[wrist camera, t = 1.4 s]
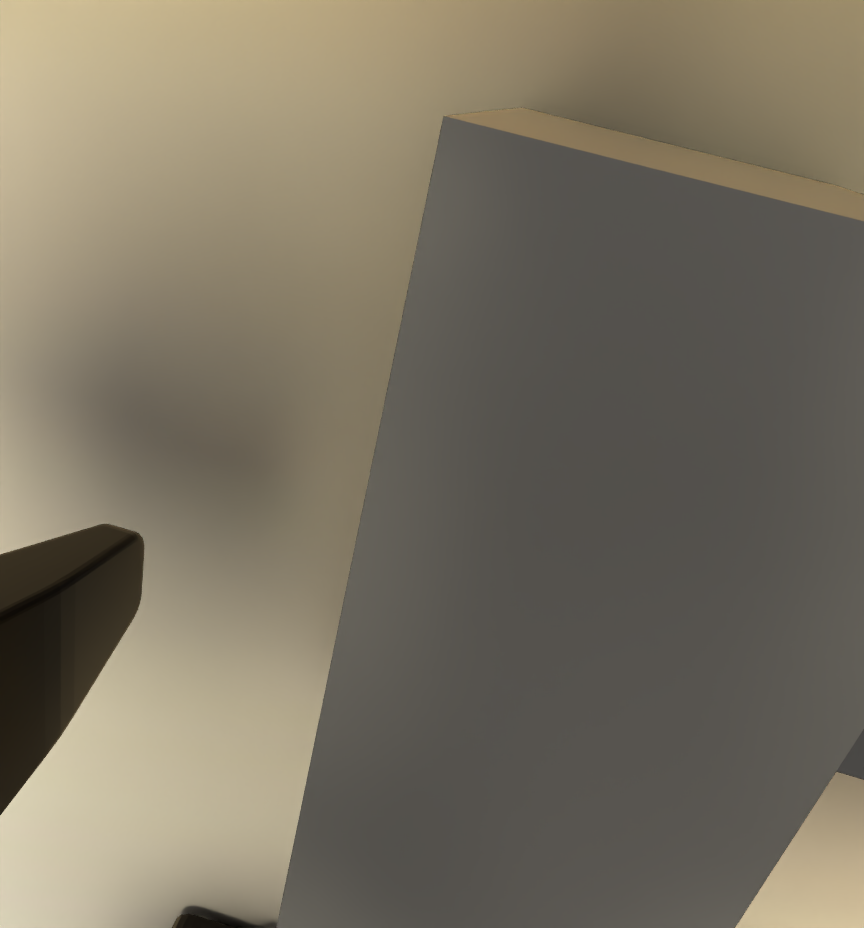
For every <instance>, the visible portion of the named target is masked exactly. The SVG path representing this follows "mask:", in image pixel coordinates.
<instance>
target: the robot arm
mask: <svg viewBox="0 0 864 928" xmlns="http://www.w3.org/2000/svg"><path fill="white" fill-rule="evenodd" d="M143 561H144V541H143V538H142V537H141V536H140V534H139V533H137V532H134V531H131V530H127V529H124V528H120V527H117V526H114V525H110V524H101V525H97V526H94V527H91V528H87V529H84V530H81V531H77V532H74V533H71V534H67V535H64V536H61V537H57V538H54V539H51V540H47V541H44V542H41V543H37V544H34V545H31V546H27V547H24V548H21V549H17V550H14V551H11V552H7V553H4V554H0V815H1V814H2V812H3V811H4V810H5V809H6V807H7V806H8V805H9V803H10V802H11V801H12V800H13V798H14V797H15V796H16V794H17V793H18V792H19V790H20V789H21V788H22V787H23V785H24V784H25V783H26V781H27V780H28V779H29V778H30V776H31V775H32V774H33V772H34V771H35V770H36V768H37V767H38V766H39V765H40V763H41V762H42V761H43V759H44V758H45V757H46V755H47V754H48V753H49V751H50V750H51V749H52V747H53V746H54V745H55V743H56V742H57V740H58V739H59V738H60V736H61V735H62V733H63V732H64V730H65V729H66V727H67V726H68V724H69V723H70V721H71V719H72V718H73V716H74V715H75V713H76V711H77V710H78V708H79V707H80V705H81V703H82V702H83V700H84V698H85V697H86V695H87V694H88V692H89V690H90V689H91V687H92V685H93V684H94V682H95V680H96V679H97V677H98V676H99V674H100V672H101V671H102V669H103V667H104V666H105V664H106V663H107V661H108V659H109V658H110V656H111V654H112V653H113V651H114V649H115V648H116V646H117V645H118V643H119V641H120V640H121V638H122V636H123V635H124V633H125V632H126V630H127V628H128V627H129V625H130V623H131V622H132V620H133V618H134V617H135V615H136V612H137V610H138V607H139V604H140V600H141V594H142V578H143ZM172 928H233V927H230V926H227V925H224V924H221V923H218V922H215V921H212V920H209V919H206V918H203V917H200V916H197V915H192V914H184V915H181V916H179V917H177V919H176V921H175V923H174V925H173V927H172Z"/></svg>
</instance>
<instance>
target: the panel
mask: <svg viewBox="0 0 864 928" xmlns="http://www.w3.org/2000/svg"><path fill="white" fill-rule="evenodd" d="M863 729H864V195H863V194H860V193H857V192H854V191H851V190H848V189H846V188H843V187H840V186H836V185H832V184H828V183H824V182H820V181H816V180H812V179H808V178H804V177H800V176H796V175H792V174H788V173H784V172H780V171H776V170H772V169H768V168H764V167H760V166H756V165H752V164H748V163H744V162H740V161H736V160H732V159H728V158H724V157H720V156H716V155H711V154H707V153H703V152H699V151H695V150H691V149H687V148H683V147H679V146H675V145H671V144H667V143H663V142H659V141H655V140H651V139H647V138H643V137H639V136H635V135H631V134H627V133H623V132H619V131H615V130H611V129H607V128H603V127H599V126H595V125H591V124H587V123H583V122H578V121H574V120H570V119H566V118H562V117H558V116H554V115H550V114H546V113H542V112H538V111H534V110H530V109H526V108H522V107H520V108H511V109H502V110H493V111H484V112H475V113H466V114H457V115H448V116H444V117H443V122H442V126H441V131H440V136H439V141H438V146H437V151H436V156H435V160H434V165H433V170H432V175H431V180H430V185H429V190H428V194H427V199H426V204H425V209H424V214H423V219H422V224H421V228H420V233H419V238H418V243H417V248H416V253H415V258H414V262H413V267H412V272H411V277H410V282H409V287H408V291H407V296H406V301H405V306H404V311H403V316H402V321H401V325H400V330H399V335H398V340H397V345H396V350H395V355H394V359H393V364H392V369H391V374H390V379H389V384H388V389H387V393H386V398H385V403H384V408H383V413H382V418H381V423H380V427H379V432H378V437H377V442H376V447H375V452H374V457H373V461H372V466H371V471H370V476H369V481H368V486H367V491H366V495H365V500H364V505H363V510H362V515H361V520H360V524H359V529H358V534H357V539H356V544H355V549H354V554H353V558H352V563H351V568H350V573H349V578H348V583H347V588H346V592H345V597H344V602H343V607H342V612H341V617H340V622H339V626H338V631H337V636H336V641H335V646H334V651H333V656H332V660H331V665H330V670H329V675H328V680H327V685H326V690H325V694H324V699H323V704H322V709H321V714H320V719H319V723H318V728H317V733H316V738H315V743H314V748H313V753H312V757H311V762H310V767H309V772H308V777H307V782H306V787H305V791H304V796H303V801H302V806H301V811H300V816H299V821H298V825H297V830H296V835H295V840H294V845H293V850H292V855H291V859H290V864H289V869H288V874H287V879H286V884H285V889H284V893H283V898H282V903H281V908H280V913H279V918H278V922H277V927H276V928H735V927H736V925H737V924H738V922H739V921H740V919H741V918H742V916H743V915H744V913H745V911H746V910H747V908H748V907H749V905H750V904H751V902H752V901H753V899H754V898H755V896H756V894H757V893H758V891H759V890H760V888H761V887H762V885H763V884H764V882H765V881H766V879H767V877H768V876H769V874H770V873H771V871H772V870H773V868H774V867H775V865H776V864H777V862H778V861H779V859H780V857H781V856H782V854H783V853H784V851H785V850H786V848H787V847H788V845H789V844H790V842H791V840H792V839H793V837H794V836H795V834H796V833H797V831H798V830H799V828H800V827H801V825H802V823H803V822H804V820H805V819H806V817H807V816H808V814H809V813H810V811H811V810H812V808H813V807H814V805H815V803H816V802H817V800H818V799H819V797H820V796H821V794H822V793H823V791H824V790H825V788H826V786H827V785H828V783H829V782H830V780H831V779H832V777H833V776H834V774H835V773H836V771H837V770H838V768H839V766H840V765H841V763H842V762H843V760H844V759H845V757H846V756H847V754H848V753H849V751H850V749H851V748H852V746H853V745H854V743H855V742H856V740H857V739H858V737H859V736H860V734H861V732H862V731H863Z"/></svg>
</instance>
